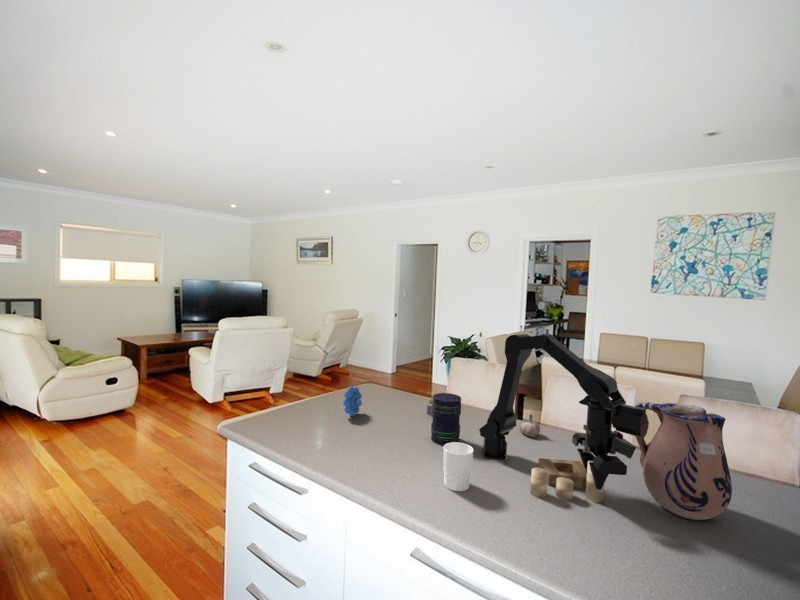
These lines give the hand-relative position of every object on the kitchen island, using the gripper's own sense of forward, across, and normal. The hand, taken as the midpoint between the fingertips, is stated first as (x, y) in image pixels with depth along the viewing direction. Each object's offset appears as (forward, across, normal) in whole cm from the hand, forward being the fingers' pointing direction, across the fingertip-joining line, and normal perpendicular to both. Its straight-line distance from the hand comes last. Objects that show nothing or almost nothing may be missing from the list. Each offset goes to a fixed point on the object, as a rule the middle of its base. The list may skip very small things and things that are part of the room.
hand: (595, 484), depth 100 cm
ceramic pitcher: (+4, -1, -19) cm, 19 cm away
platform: (+4, +56, +40) cm, 68 cm away
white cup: (+4, +1, +35) cm, 35 cm away
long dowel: (+4, 0, 0) cm, 4 cm away
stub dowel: (+4, 0, +8) cm, 8 cm away
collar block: (+4, +10, +4) cm, 11 cm away
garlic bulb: (+4, +42, +6) cm, 43 cm away
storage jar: (+4, +31, +37) cm, 48 cm away
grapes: (+4, +48, +72) cm, 87 cm away
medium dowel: (+4, 0, +14) cm, 14 cm away
